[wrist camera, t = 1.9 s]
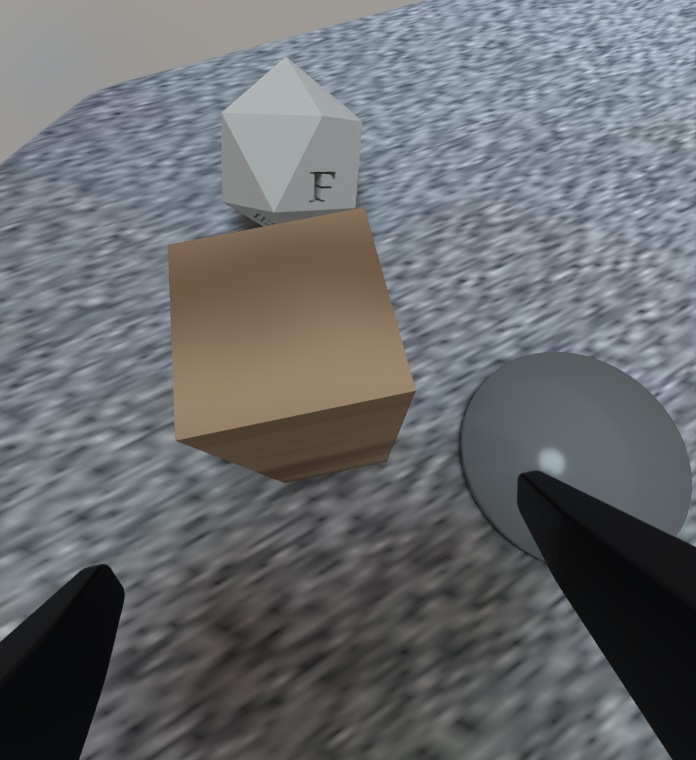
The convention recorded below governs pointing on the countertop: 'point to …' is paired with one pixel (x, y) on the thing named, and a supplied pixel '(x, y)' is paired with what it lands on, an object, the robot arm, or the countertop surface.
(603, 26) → the countertop surface
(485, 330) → the countertop surface
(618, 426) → the slate coaster
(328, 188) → the die
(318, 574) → the countertop surface
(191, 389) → the walnut block
